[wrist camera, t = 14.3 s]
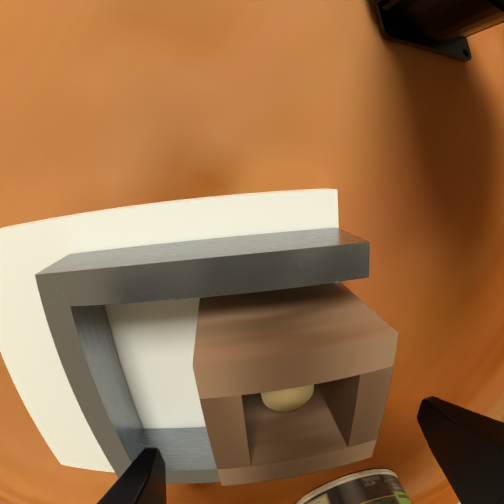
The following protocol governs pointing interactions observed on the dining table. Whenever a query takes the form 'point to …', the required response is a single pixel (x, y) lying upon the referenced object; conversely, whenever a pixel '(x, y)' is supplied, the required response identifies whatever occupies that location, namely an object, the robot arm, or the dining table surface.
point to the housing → (169, 288)
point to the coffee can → (360, 489)
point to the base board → (132, 309)
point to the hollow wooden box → (291, 379)
